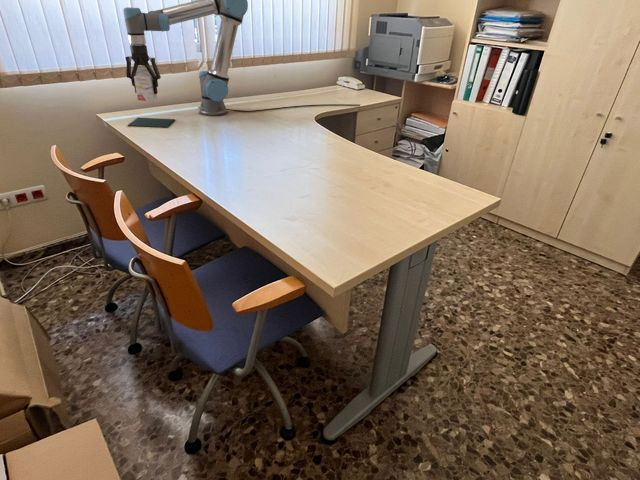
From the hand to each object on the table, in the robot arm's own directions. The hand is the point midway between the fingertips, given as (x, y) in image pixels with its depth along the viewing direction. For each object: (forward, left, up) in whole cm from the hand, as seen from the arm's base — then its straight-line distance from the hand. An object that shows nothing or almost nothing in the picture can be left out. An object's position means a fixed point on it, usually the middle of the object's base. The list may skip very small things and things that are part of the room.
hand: (146, 93), depth 202 cm
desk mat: (0, 0, -15) cm, 15 cm away
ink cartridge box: (0, 0, -4) cm, 4 cm away
